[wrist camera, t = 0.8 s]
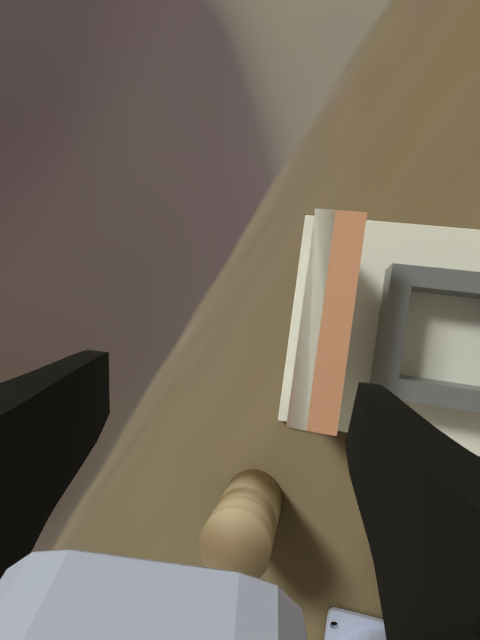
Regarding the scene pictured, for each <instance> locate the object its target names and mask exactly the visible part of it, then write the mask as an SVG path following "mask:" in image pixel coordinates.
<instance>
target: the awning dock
mask: <svg viewBox="0 0 480 640" xmlns="http://www.w3.org/2000/svg"><path fill="white" fill-rule="evenodd" d="M366 218H367V213H365V212H353V211H341V210H328V209H316V208H315V215H314V216H310V215H305V222H304V229H303V237H302V244H301V252H300V259H299V267H298V274H297V282H296V289H295V297H294V304H293V311H292V319H291V326H290V334H289V341H288V349H287V356H286V364H285V371H284V379H283V386H282V393H281V401H280V408H279V416H278V420H280V421H286V422H287V424H286V427H289V428H294V429H300V430H305V431H311V432H316V433H322V434H327V435H333V436H337V431H342V432H347V433H348V428H349V424H350V419H351V415H352V410H353V406H354V401H355V397H356V392H357V388H358V383H359V382H363V383H371V384H380V385H382V386H384V387H385V388H387V389H388V390H389V391H391V392H392V393H393V394H394V395H396V396H397V397H398V398H399V399H401V400H402V401H403V402H404V403H406V404H407V405H408V406H409V407H411V408H412V409H413V410H414V411H416V412H417V413H418V414H419V415H421V416H422V417H423V418H424V419H426V420H427V421H428V422H430V423H431V424H432V425H433V426H435V427H436V428H437V429H439V430H440V431H442V432H443V433H444V434H446V435H447V436H449V437H450V438H451V439H453V440H454V441H456V442H457V443H459V444H460V445H461V446H463V447H465V448H466V449H468V450H469V451H471V452H472V453H474V454H476V455H477V456H480V230H477V229H465V228H453V227H441V226H429V225H417V224H405V223H394V222H382V221H370V220H366Z"/></svg>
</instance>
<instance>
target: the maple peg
mask: <svg viewBox="0 0 480 640" xmlns="http://www.w3.org/2000/svg"><path fill="white" fill-rule="evenodd" d="M281 508H282V493H281V490H280V487H279V485H278V484H277V482H276V481H275V480H274V479H273V478H272V477H271V476H270V475H269V474H267V473H265V472H263V471H260V470H246V471H243V472H240V473H239V474H237V475H236V476H235V477H234V478H233V479H232V480H231V482H230V484H229V485H228V487H227V489H226V490H225V492H224V494H223V496H222V497H221V499H220V501H219V502H218V504H217V506H216V507H215V509H214V511H213V512H212V514H211V516H210V518H209V519H208V521H207V523H206V524H205V526H204V528H203V530H202V532H201V535H200V539H199V552H200V557H201V560H202V562H203V564H204V566H205V567H210V568H217V569H225V570H232V571H239V572H242V573H245V574H248V575H251V576H254V577H257V578H260V577H261V576H262V575H263V574H264V572H265V571H266V569H267V567H268V564H269V560H270V556H271V552H272V547H273V543H274V538H275V534H276V530H277V525H278V521H279V516H280V512H281Z"/></svg>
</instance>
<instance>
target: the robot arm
mask: <svg viewBox="0 0 480 640" xmlns="http://www.w3.org/2000/svg"><path fill="white" fill-rule="evenodd" d="M108 355H109V353H108V352H101V351H93V350H86V351H82V352H79V353H76V354H73V355H71V356H68V357H66V358H64V359H61V360H59V361H56V362H54V363H51V364H49V365H46V366H44V367H42V368H39V369H37V370H34V371H32V372H30V373H27V374H24V375H21V376H19V377H16V378H13V379H10V380H8V381H5V382H2V383H0V640H307V635H306V629H305V623H304V617H303V611H302V609H301V608H300V607H299V606H298V605H297V604H296V603H295V602H294V601H293V600H292V599H291V598H290V597H289V596H288V595H287V594H286V593H285V592H284V591H282V590H281V589H280V588H279V587H278V586H277V585H276V584H274V583H272V582H269V581H266V580H263V579H260V578H257V577H254V576H251V575H248V574H245V573H242V572H239V571H232V570H225V569H217V568H210V567H203V566H195V565H188V564H180V563H173V562H165V561H158V560H151V559H143V558H136V557H128V556H121V555H113V554H106V553H99V552H91V551H84V550H76V549H66V550H51V551H39V552H33V553H31V551H32V549H33V547H34V545H35V543H36V541H37V539H38V537H39V535H40V533H41V531H42V529H43V527H44V525H45V523H46V522H47V520H48V518H49V516H50V515H51V513H52V511H53V509H54V508H55V506H56V504H57V503H58V501H59V500H60V498H61V497H62V495H63V494H64V492H65V490H66V489H67V487H68V486H69V484H70V483H71V481H72V480H73V478H74V476H75V475H76V473H77V472H78V470H79V469H80V467H81V466H82V464H83V463H84V461H85V460H86V458H87V456H88V455H89V453H90V452H91V450H92V448H93V447H94V445H95V443H96V442H97V440H98V438H99V436H100V434H101V432H102V429H103V427H104V425H105V423H106V420H107V418H108V416H109V413H110V409H109V408H110V407H109V356H108ZM345 443H346V451H347V460H348V466H349V473H350V477H351V481H352V485H353V488H354V492H355V495H356V499H357V503H358V506H359V510H360V513H361V517H362V520H363V524H364V527H365V531H366V534H367V538H368V541H369V545H370V549H371V553H372V557H373V562H374V567H375V572H376V578H377V584H378V590H379V596H380V602H381V608H382V615H383V619H379V618H375V617H372V616H368V615H364V614H360V613H356V612H352V611H348V610H344V609H340V608H337V607H332V608H330V609H329V610H328V614H327V621H326V628H325V636H324V640H480V457H479V456H477V455H476V454H474V453H472V452H471V451H469V450H468V449H466V448H465V447H463V446H461V445H460V444H459V443H457V442H456V441H454V440H453V439H451V438H450V437H449V436H447V435H446V434H444V433H443V432H442V431H440V430H439V429H437V428H436V427H435V426H433V425H432V424H431V423H430V422H428V421H427V420H426V419H424V418H423V417H422V416H421V415H419V414H418V413H417V412H416V411H414V410H413V409H412V408H411V407H409V406H408V405H407V404H406V403H404V402H403V401H402V400H401V399H399V398H398V397H397V396H396V395H394V394H393V393H392V392H391V391H389V390H388V389H387V388H385V387H384V386H382V385H380V384H371V383H363V382H359V383H358V388H357V392H356V397H355V401H354V406H353V410H352V415H351V419H350V424H349V428H348V433H347V437H346V442H345ZM331 622H337V625H332V624H331Z"/></svg>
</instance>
